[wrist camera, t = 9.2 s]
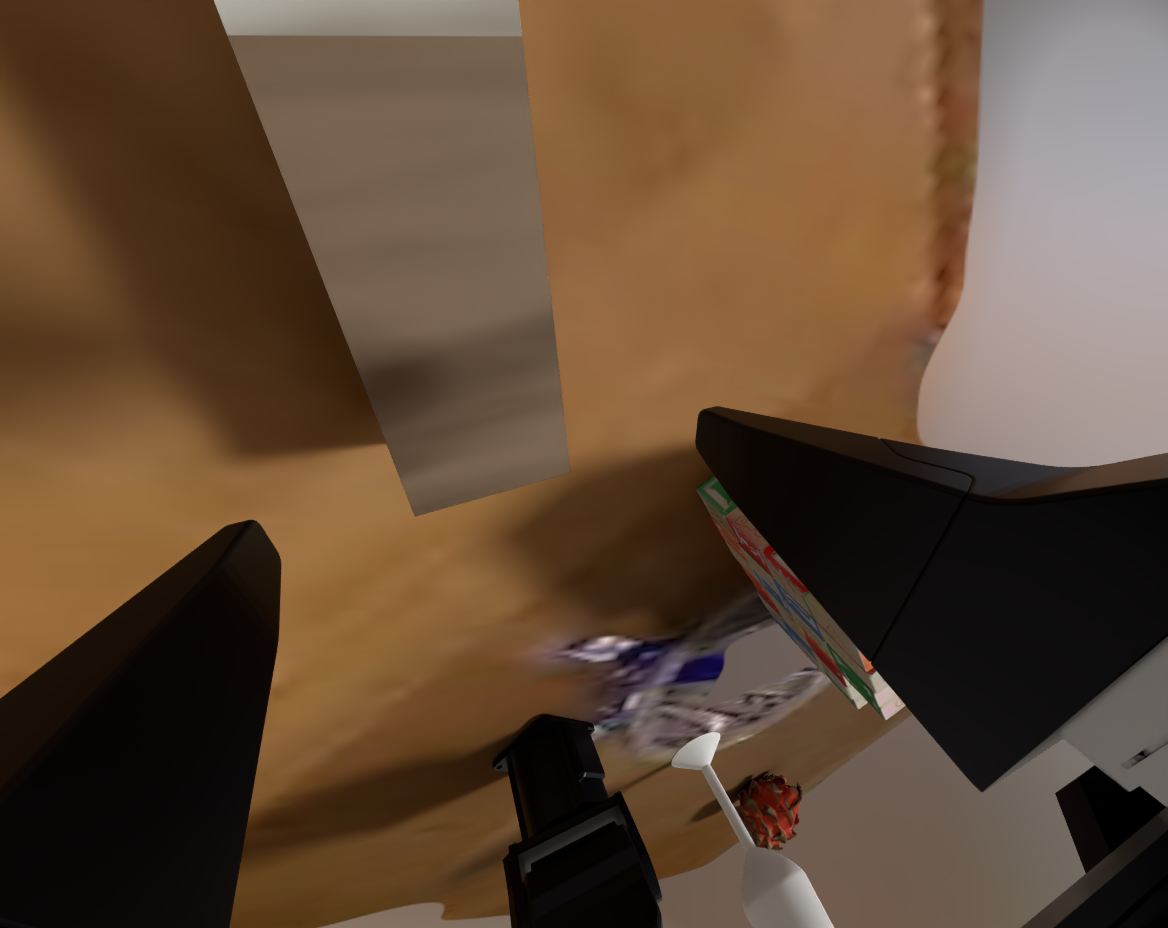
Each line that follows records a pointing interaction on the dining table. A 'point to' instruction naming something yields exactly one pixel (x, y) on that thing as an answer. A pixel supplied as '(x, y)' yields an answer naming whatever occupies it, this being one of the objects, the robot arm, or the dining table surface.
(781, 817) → the dragon fruit
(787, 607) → the stack of blocks
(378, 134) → the silver metal block
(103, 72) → the dining table surface
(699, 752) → the champagne flute
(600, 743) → the dining table surface
